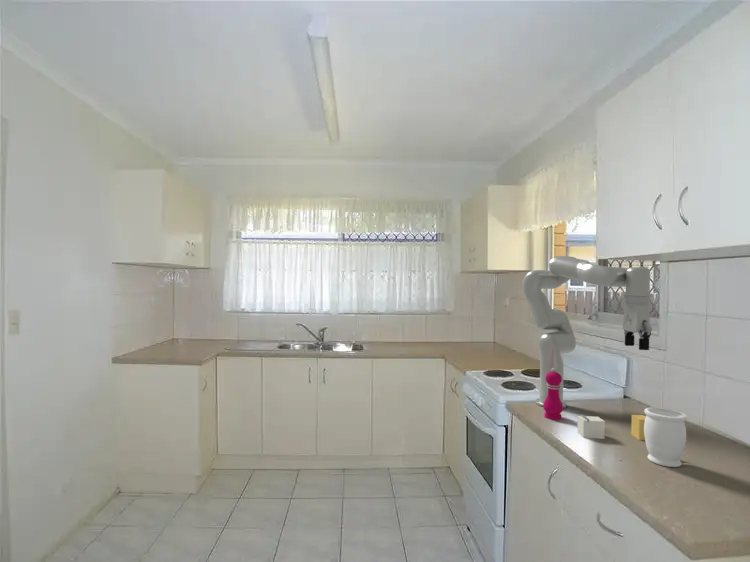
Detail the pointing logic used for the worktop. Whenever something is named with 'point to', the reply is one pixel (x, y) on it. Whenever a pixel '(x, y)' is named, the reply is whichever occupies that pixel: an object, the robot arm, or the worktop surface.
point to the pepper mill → (553, 396)
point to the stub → (638, 426)
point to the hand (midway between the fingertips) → (636, 347)
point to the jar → (665, 436)
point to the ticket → (591, 427)
